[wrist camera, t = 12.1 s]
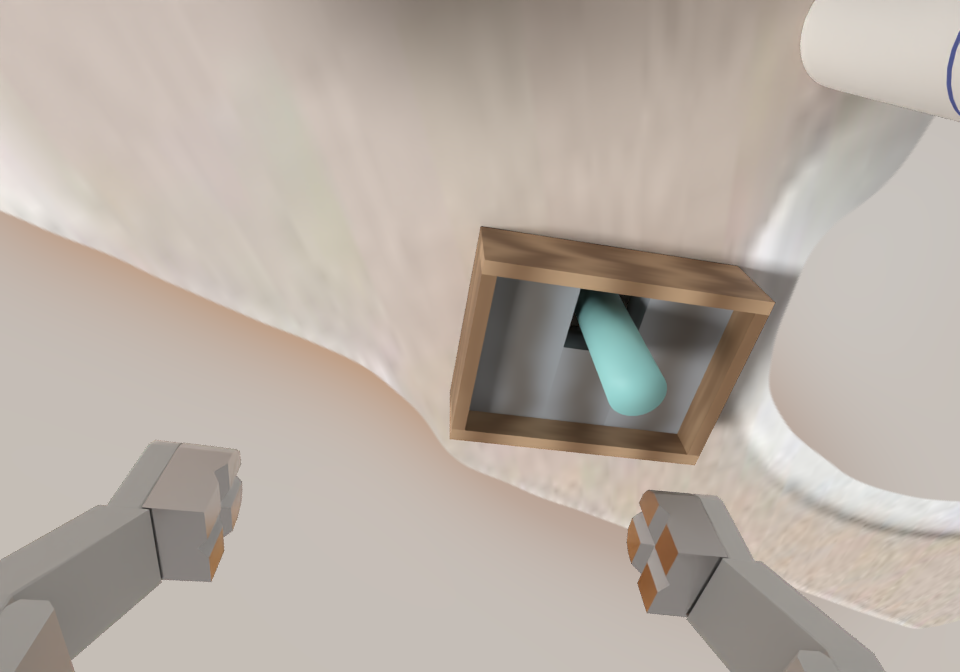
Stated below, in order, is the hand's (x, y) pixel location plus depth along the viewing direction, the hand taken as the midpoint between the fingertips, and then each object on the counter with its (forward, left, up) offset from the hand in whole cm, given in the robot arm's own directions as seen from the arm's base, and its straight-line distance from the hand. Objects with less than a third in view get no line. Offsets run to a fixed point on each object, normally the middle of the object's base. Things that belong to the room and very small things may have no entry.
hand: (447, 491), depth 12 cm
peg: (+13, -10, -31) cm, 35 cm away
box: (+13, -13, -31) cm, 36 cm away
